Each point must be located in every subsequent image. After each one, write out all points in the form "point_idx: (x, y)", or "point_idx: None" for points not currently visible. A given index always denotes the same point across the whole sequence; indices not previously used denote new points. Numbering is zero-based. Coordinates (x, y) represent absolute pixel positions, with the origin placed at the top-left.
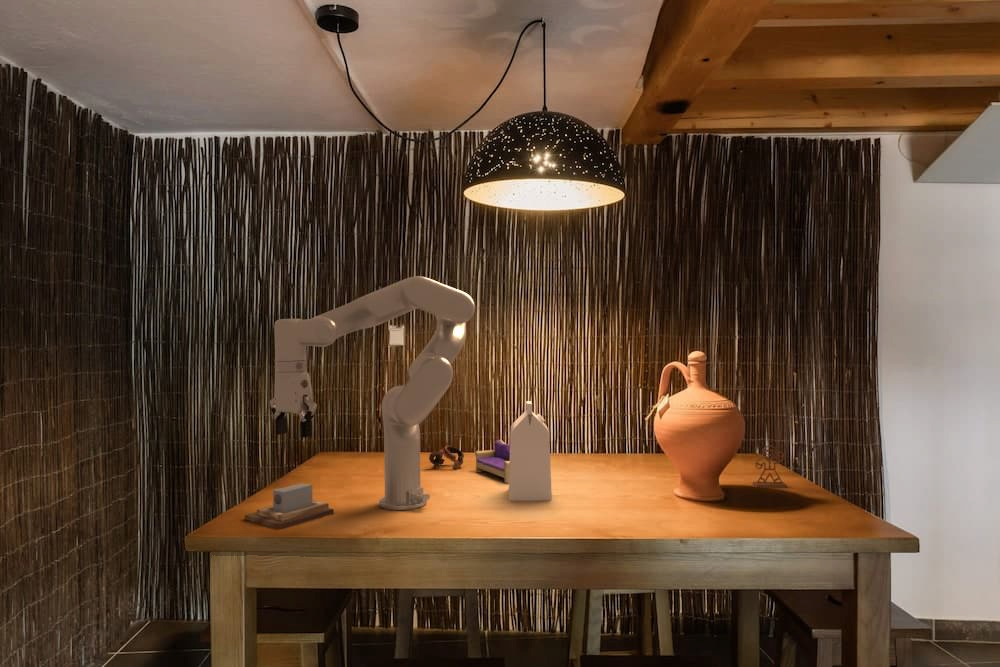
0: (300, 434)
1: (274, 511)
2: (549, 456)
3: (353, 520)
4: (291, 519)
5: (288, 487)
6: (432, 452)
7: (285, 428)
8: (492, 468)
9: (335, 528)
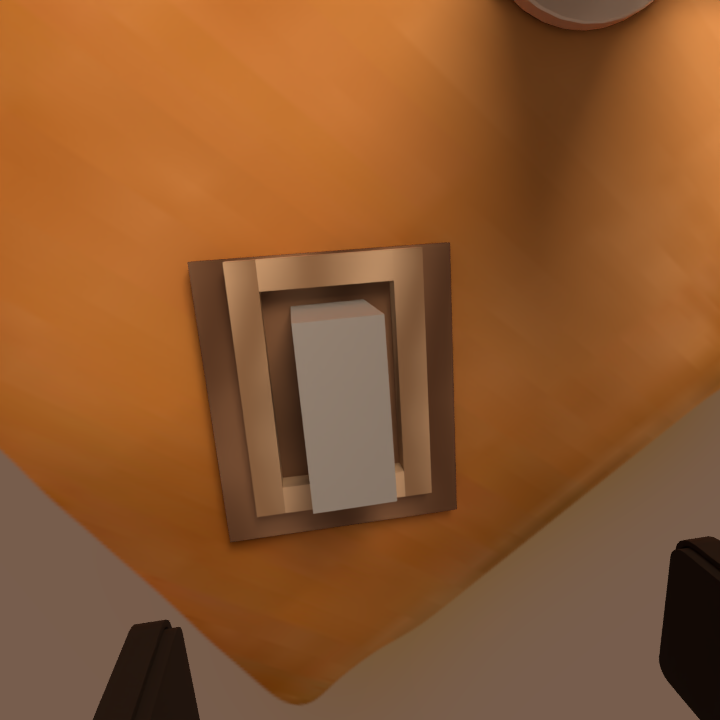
0: (695, 705)
1: None
2: None
3: (581, 252)
4: (437, 450)
5: (326, 432)
6: None
7: (167, 712)
8: None
9: (600, 364)
